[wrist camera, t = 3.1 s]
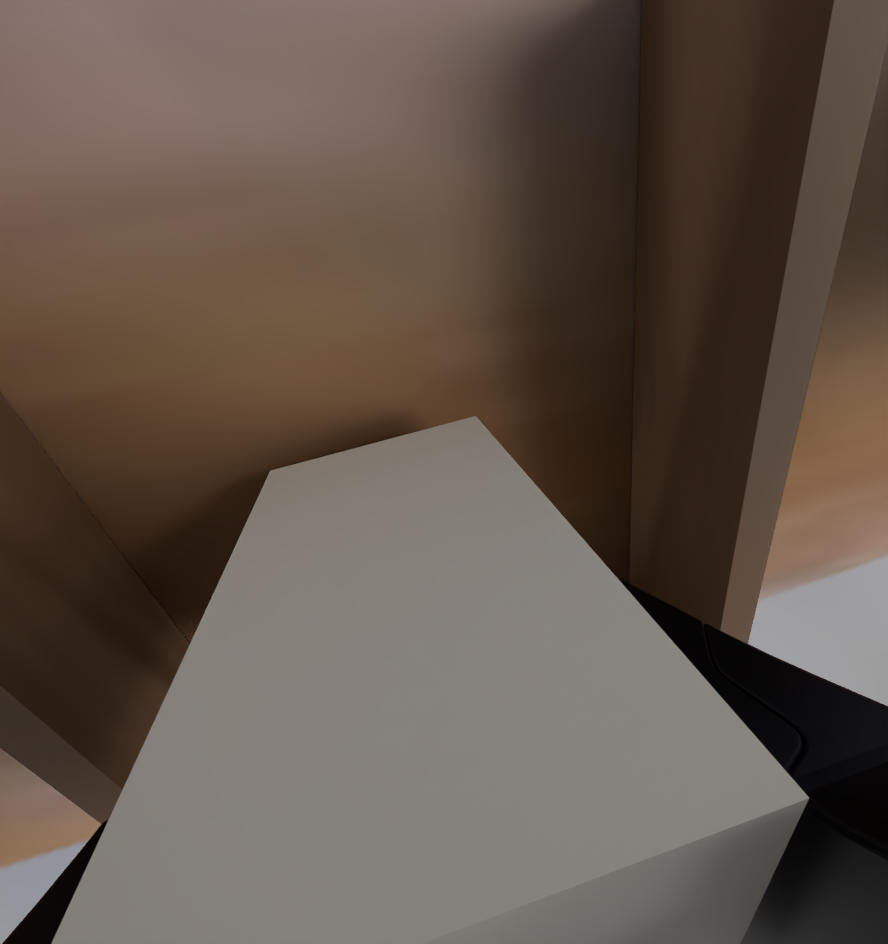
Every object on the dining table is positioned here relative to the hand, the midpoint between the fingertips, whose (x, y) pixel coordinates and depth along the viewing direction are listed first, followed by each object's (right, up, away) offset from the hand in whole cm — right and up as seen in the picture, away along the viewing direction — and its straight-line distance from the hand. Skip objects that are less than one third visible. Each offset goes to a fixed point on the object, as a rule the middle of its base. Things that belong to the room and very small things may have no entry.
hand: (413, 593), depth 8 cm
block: (-1, +1, +2) cm, 3 cm away
